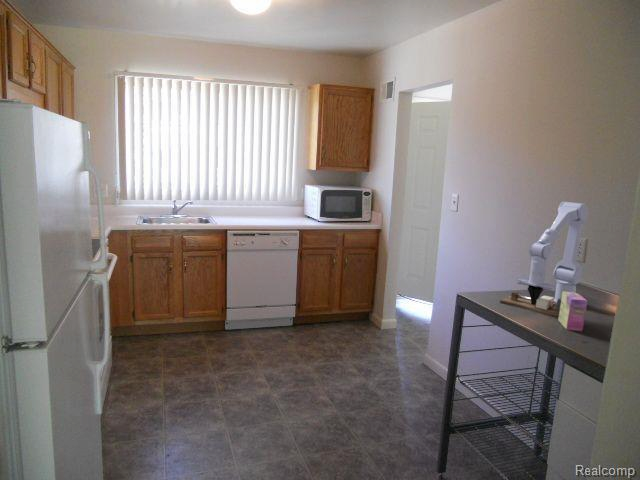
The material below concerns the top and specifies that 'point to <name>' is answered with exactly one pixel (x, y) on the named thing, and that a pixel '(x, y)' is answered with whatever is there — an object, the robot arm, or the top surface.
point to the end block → (558, 304)
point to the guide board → (527, 304)
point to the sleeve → (544, 302)
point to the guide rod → (530, 299)
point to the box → (572, 311)
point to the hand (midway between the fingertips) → (533, 304)
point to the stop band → (551, 303)
